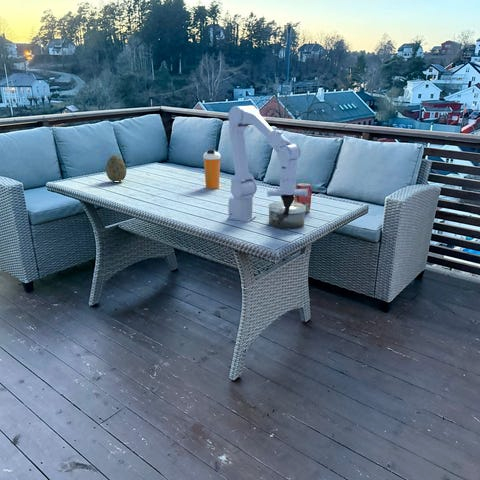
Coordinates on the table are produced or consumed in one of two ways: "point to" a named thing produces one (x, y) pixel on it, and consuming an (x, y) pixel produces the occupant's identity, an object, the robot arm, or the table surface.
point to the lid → (280, 209)
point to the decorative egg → (115, 168)
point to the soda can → (304, 199)
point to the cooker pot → (286, 220)
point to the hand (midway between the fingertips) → (286, 214)
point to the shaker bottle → (212, 168)
